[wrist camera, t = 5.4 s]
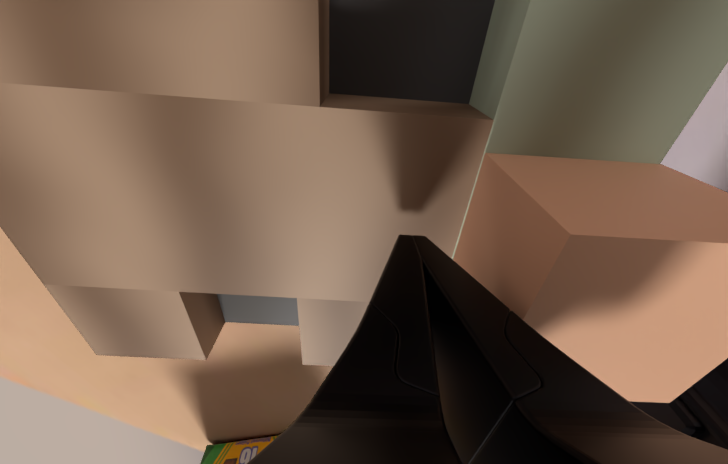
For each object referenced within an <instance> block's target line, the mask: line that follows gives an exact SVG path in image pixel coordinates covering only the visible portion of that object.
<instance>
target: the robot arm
mask: <svg viewBox="0 0 728 464" xmlns="http://www.w3.org/2000/svg"><path fill="white" fill-rule="evenodd" d="M509 311H510V309H509V308H508V307H507V306H506V305H505V304H504V303H502V302H501V301H500V300H499V299H498V298H497V297H496V296H494V295H493V294H492V293H491V292H490V291H489V290H487V289H486V288H485V287H484V286H483V285H482V284H480V283H479V282H478V281H477V280H476V279H475V278H473V277H472V276H471V275H470V274H469V273H468V272H467V271H465V270H464V269H463V268H462V267H461V266H460V265H458V264H457V263H456V262H455V261H454V260H453V259H451V258H450V257H449V256H448V255H447V254H446V253H445V252H443V251H442V250H441V249H440V248H439V247H438V246H436V245H435V244H434V243H433V242H432V241H431V240H429V239H428V238H427V237H426V236H421V235H402V234H400V235H399V236H398V238H397V240H396V242H395V244H394V247H393V249H392V251H391V254H390V256H389V258H388V261H387V263H386V265H385V267H384V270H383V272H382V274H381V277H380V279H379V281H378V284H377V286H376V288H375V290H374V293H373V295H372V297H371V300H370V302H369V305H368V306H367V308H366V311H365V313H364V315H363V317H362V319H361V321H360V323H359V325H358V327H357V329H356V331H355V333H354V335H353V336H352V338H351V340H350V341H349V343H348V345H347V346H346V348H345V350H344V351H343V353H342V354H341V356H340V357H339V359H338V360H337V362H336V363H335V365H334V366H333V368H332V370H331V371H330V373H329V374H328V376H327V377H326V379H325V380H324V382H323V383H322V385H321V386H320V388H319V389H318V391H317V393H316V394H315V395H314V397H313V398H312V400H311V401H310V403H309V404H308V405H307V407H306V408H305V409H304V411H303V412H302V413H301V414H300V415H299V417H298V418H297V419H296V420H295V421H294V422H293V423H292V424H291V425H290V426H289V427H288V428H287V429H286V430H285V431H284V432H282V433H281V434H280V435H279V436H278V437H277V438H275V439H274V440H273V441H272V442H271V443H270V444H269V445H267V446H266V447H265V448H264V449H263V450H262V451H261V452H259V453H258V454H257V455H256V456H255V457H254V458H252V459H251V460H250V461H249V462H248V463H247V464H728V358H727V359H726V360H725V361H723V362H722V363H721V364H719V365H718V366H717V367H715V368H714V369H713V370H712V371H710V372H709V373H708V374H706V375H705V376H704V377H703V378H701V379H700V380H699V381H697V382H696V383H695V384H693V385H692V386H691V387H690V388H688V389H687V390H686V391H684V392H683V393H682V394H681V395H679V396H678V397H677V398H675V399H674V400H673V401H671V402H670V403H657V402H632V401H628V400H626V399H625V398H624V397H622V396H621V395H620V394H618V393H617V392H616V391H614V390H613V389H612V388H610V387H609V386H608V385H606V384H605V383H603V382H602V381H601V380H599V379H598V378H597V377H595V376H594V375H593V374H591V373H590V372H589V371H587V370H586V369H585V368H583V367H582V366H581V365H579V364H578V363H577V362H575V361H574V360H573V359H571V358H570V357H569V356H567V355H566V354H565V353H563V352H562V351H561V350H560V349H558V348H557V347H556V346H554V345H553V344H552V343H550V342H549V341H548V340H547V339H545V338H544V337H543V336H542V335H540V334H539V333H538V332H537V331H536V330H534V329H533V328H532V327H531V326H530V325H528V324H527V323H526V322H525V321H523V320H522V319H521V318H520V317H519V316H518V315H517V314H515V313H514V312H513V311H510V312H509Z"/></svg>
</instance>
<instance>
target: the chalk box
mask: <svg viewBox="0 0 728 464" xmlns="http://www.w3.org/2000/svg"><path fill="white" fill-rule="evenodd" d="M278 436H279V435H277V436H271V437H265V438H257V439H250V440H244V441H237V442H230V443H223V444H214V445H207V446H206V450H205V453H204V455H203V458H202V461H201V464H247V463H248V462H249V461H250V460H251V459H252V458H254V457H255V456H256V455H257V454H258V453H259V452H261V451H262V450H263V449H264V448H265V447H266V446H267V445H269V444H270V443H271V442H272V441H273V440H274V439H275V438H277V437H278Z"/></svg>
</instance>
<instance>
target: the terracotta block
mask: <svg viewBox="0 0 728 464" xmlns="http://www.w3.org/2000/svg"><path fill="white" fill-rule="evenodd" d="M453 260H454V261H455V262H456V263H457V264H458V265H460V266H461V267H462V268H463V269H464V270H465V271H467V272H468V273H469V274H470V275H471V276H472V277H473V278H475V279H476V280H477V281H478V282H479V283H480V284H482V285H483V286H484V287H485V288H486V289H487V290H489V291H490V292H491V293H492V294H493V295H494V296H496V297H497V298H498V299H499V300H500V301H501V302H502V303H504V304H505V305H506V306H507V307H508V308H509V309H510V311H513V312H514V313H515V314H517V315H518V316H519V317H520V318H521V319H522V320H523V321H525V322H526V323H527V324H528V325H530V326H531V327H532V328H533V329H534V330H536V331H537V332H538V333H539V334H540V335H542V336H543V337H544V338H545V339H547V340H548V341H549V342H550V343H552V344H553V345H554V346H556V347H557V348H558V349H560V350H561V351H562V352H563V353H565V354H566V355H567V356H569V357H570V358H571V359H573V360H574V361H575V362H577V363H578V364H579V365H581V366H582V367H583V368H585V369H586V370H587V371H589V372H590V373H591V374H593V375H594V376H595V377H597V378H598V379H599V380H601V381H602V382H603V383H605V384H606V385H608V386H609V387H610V388H612V389H613V390H614V391H616V392H617V393H618V394H620V395H621V396H622V397H624V398H625V399H626V400H628V401H632V402H657V403H670V402H671V401H673V400H674V399H675V398H677V397H678V396H679V395H681V394H682V393H683V392H684V391H686V390H687V389H688V388H690V387H691V386H692V385H693V384H695V383H696V382H697V381H699V380H700V379H701V378H703V377H704V376H705V375H706V374H708V373H709V372H710V371H712V370H713V369H714V368H715V367H717V366H718V365H719V364H721V363H722V362H723V361H725V360H726V359H727V358H728V192H725V191H723V190H720V189H718V188H716V187H713V186H711V185H709V184H706V183H704V182H702V181H699V180H697V179H695V178H692V177H690V176H687V175H685V174H683V173H680V172H678V171H676V170H673V169H671V168H669V167H666V166H664V165H662V164H651V163H635V162H620V161H605V160H589V159H574V158H558V157H543V156H528V155H512V154H497V153H485V155H484V158H483V161H482V165H481V168H480V171H479V175H478V178H477V181H476V185H475V188H474V191H473V195H472V198H471V201H470V204H469V208H468V211H467V214H466V218H465V221H464V224H463V228H462V231H461V234H460V238H459V241H458V244H457V248H456V251H455V254H454V258H453ZM510 311H509V312H510Z"/></svg>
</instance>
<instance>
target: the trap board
mask: <svg viewBox="0 0 728 464" xmlns="http://www.w3.org/2000/svg"><path fill="white" fill-rule="evenodd" d="M727 62H728V0H0V227H1V228H2V230H3V231H4V232H5V234H6V235H7V236H8V238H9V239H10V240H11V242H12V243H13V244H14V246H15V247H16V248H17V250H18V251H19V252H20V254H21V255H22V256H23V258H24V259H25V260H26V262H27V263H28V264H29V266H30V267H31V268H32V270H33V271H34V272H35V274H36V275H37V276H38V278H39V279H40V280H41V282H42V283H43V284H44V286H45V287H46V288H47V290H48V291H49V292H50V294H51V295H52V296H53V298H54V299H55V300H56V302H57V303H58V304H59V306H60V307H61V308H62V310H63V311H64V312H65V314H66V315H67V316H68V318H69V319H70V320H71V322H72V323H73V324H74V326H75V327H76V328H77V330H78V331H79V332H80V334H81V335H82V336H83V338H84V339H85V340H86V342H87V343H88V344H89V346H90V347H91V348H92V350H93V351H94V352H95V354H96V355H106V356H128V357H149V358H171V359H192V360H206V359H207V357H208V355H209V353H210V351H211V349H212V347H213V345H214V343H215V341H216V339H217V337H218V335H219V333H220V331H221V329H222V327H223V325H224V323H225V322H236V323H256V324H275V325H295V326H299V330H300V341H301V353H302V365H320V366H334V365H335V363H336V362H337V360H338V359H339V357H340V356H341V354H342V353H343V351H344V350H345V348H346V346H347V345H348V343H349V341H350V340H351V338H352V336H353V335H354V333H355V331H356V329H357V327H358V325H359V323H360V321H361V319H362V317H363V315H364V313H365V311H366V308H367V306H368V305H369V302H370V300H371V297H372V295H373V293H374V290H375V288H376V286H377V284H378V281H379V279H380V277H381V274H382V272H383V270H384V267H385V265H386V263H387V261H388V258H389V256H390V254H391V251H392V249H393V247H394V244H395V242H396V240H397V238H398V236H399V235H400V234H402V235H421V236H426V237H427V238H428V239H429V240H431V241H432V242H433V243H434V244H435V245H436V246H438V247H439V248H440V249H441V250H442V251H443V252H445V253H446V254H447V255H448V256H449V257H450V258H451V259H453V258H454V254H455V251H456V248H457V244H458V241H459V238H460V234H461V231H462V228H463V224H464V221H465V218H466V214H467V211H468V208H469V204H470V201H471V198H472V195H473V191H474V188H475V185H476V181H477V178H478V175H479V171H480V168H481V165H482V161H483V158H484V155H485V153H497V154H512V155H528V156H543V157H558V158H574V159H589V160H605V161H620V162H635V163H651V164H660V163H661V161H662V160H663V158H664V157H665V155H666V154H667V152H668V151H669V149H670V148H671V146H672V145H673V143H674V142H675V140H676V139H677V137H678V136H679V134H680V133H681V131H682V130H683V128H684V127H685V125H686V124H687V122H688V121H689V119H690V118H691V116H692V115H693V113H694V112H695V110H696V109H697V107H698V106H699V104H700V103H701V101H702V100H703V98H704V97H705V95H706V94H707V92H708V91H709V89H710V88H711V86H712V85H713V83H714V82H715V80H716V79H717V77H718V76H719V74H720V73H721V71H722V70H723V68H724V67H725V65H726V64H727Z"/></svg>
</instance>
